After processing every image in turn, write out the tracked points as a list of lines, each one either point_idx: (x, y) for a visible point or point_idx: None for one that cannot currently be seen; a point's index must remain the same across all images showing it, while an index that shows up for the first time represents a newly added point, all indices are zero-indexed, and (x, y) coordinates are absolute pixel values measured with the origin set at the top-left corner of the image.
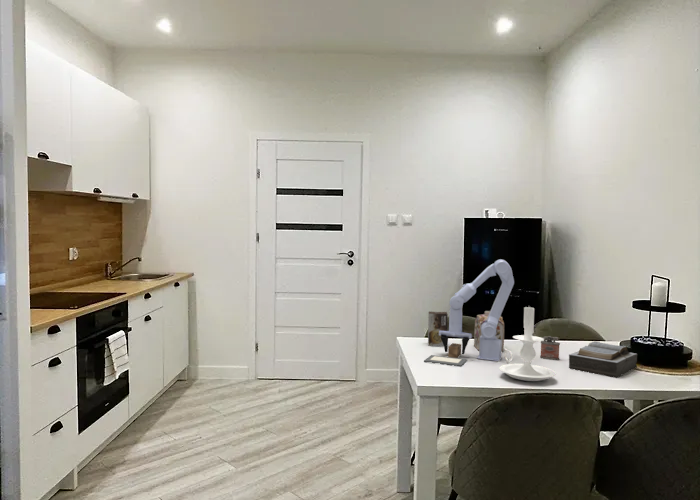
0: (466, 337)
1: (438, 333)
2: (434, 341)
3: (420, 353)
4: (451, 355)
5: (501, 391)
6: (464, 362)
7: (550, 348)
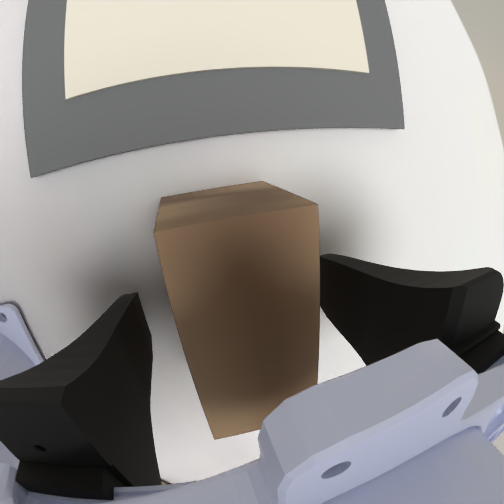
0: (46, 483)
1: None
2: None
3: (462, 186)
4: (229, 189)
5: None
6: (25, 39)
7: None
